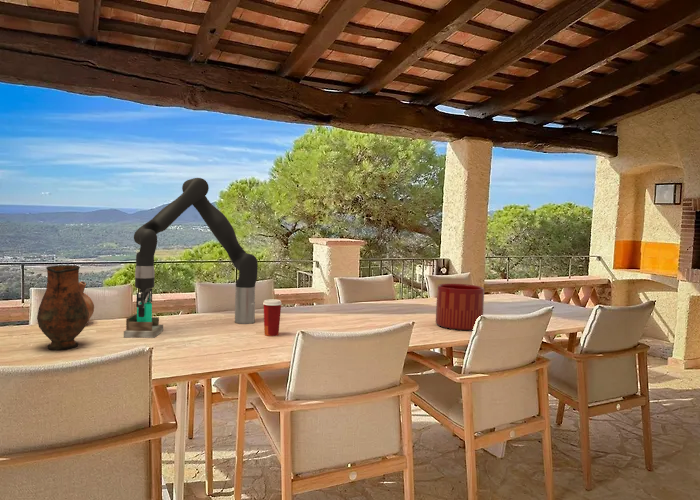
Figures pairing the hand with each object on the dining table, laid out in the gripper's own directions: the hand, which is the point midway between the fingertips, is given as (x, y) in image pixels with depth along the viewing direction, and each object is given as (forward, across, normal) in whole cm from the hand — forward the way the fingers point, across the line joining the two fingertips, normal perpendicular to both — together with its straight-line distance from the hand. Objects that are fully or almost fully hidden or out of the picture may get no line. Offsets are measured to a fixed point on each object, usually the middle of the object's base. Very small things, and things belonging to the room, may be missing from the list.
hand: (144, 315), depth 210 cm
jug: (+8, +16, +36) cm, 40 cm away
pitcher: (+8, -20, +23) cm, 32 cm away
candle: (+6, 0, 0) cm, 6 cm away
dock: (+8, 0, 0) cm, 8 cm away
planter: (+8, +24, -145) cm, 147 cm away
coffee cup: (+8, +1, -53) cm, 54 cm away
